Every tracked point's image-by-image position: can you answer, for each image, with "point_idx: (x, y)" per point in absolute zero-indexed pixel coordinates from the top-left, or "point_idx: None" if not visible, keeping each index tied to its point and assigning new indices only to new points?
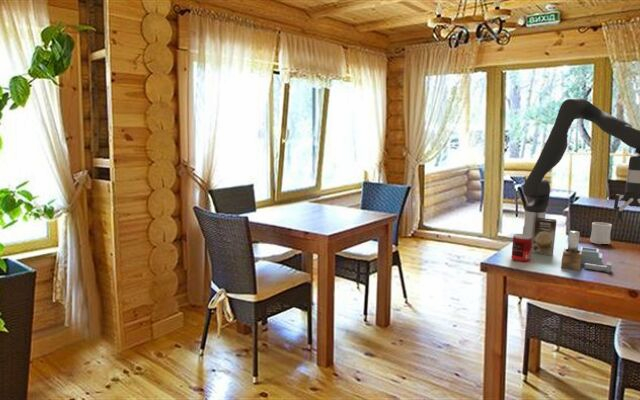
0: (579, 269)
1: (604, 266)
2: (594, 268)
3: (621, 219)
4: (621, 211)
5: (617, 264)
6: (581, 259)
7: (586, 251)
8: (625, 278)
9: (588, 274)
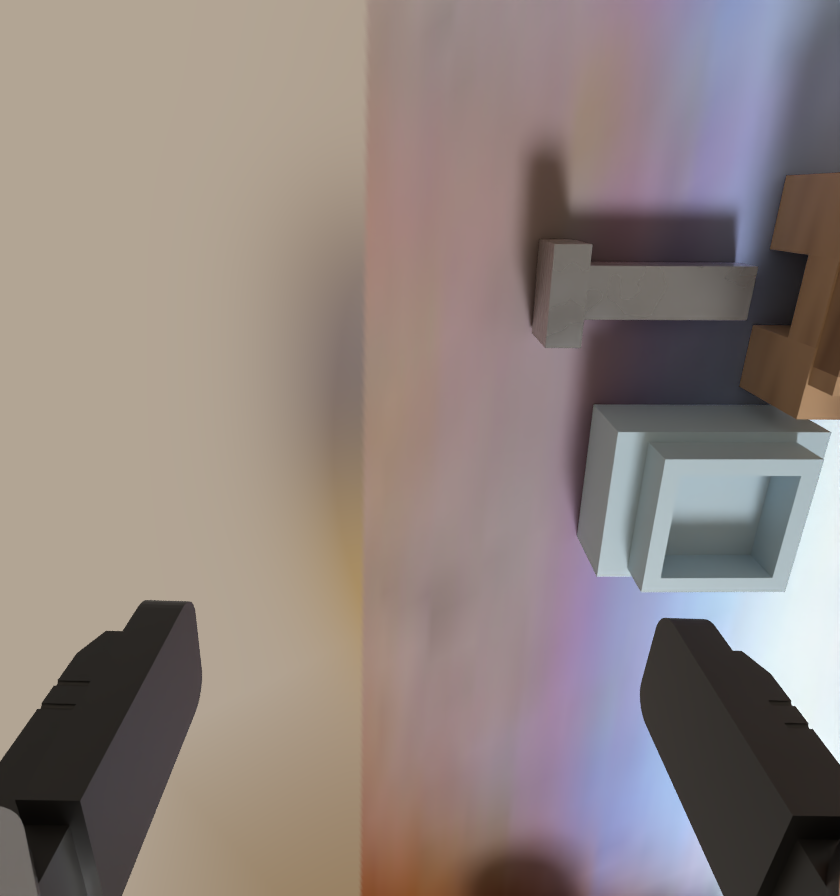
0: (796, 175)
1: (597, 288)
2: (666, 264)
3: (676, 624)
4: (824, 813)
5: (470, 542)
6: (773, 376)
7: (764, 456)
8: (434, 134)
9: (731, 81)
